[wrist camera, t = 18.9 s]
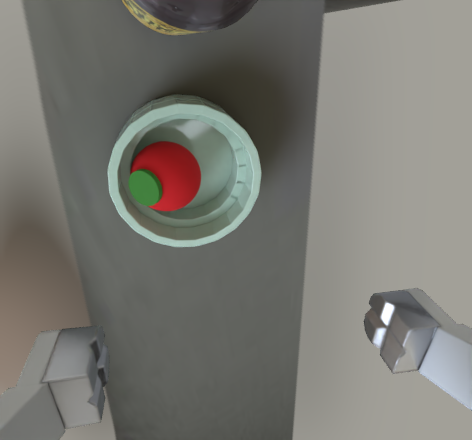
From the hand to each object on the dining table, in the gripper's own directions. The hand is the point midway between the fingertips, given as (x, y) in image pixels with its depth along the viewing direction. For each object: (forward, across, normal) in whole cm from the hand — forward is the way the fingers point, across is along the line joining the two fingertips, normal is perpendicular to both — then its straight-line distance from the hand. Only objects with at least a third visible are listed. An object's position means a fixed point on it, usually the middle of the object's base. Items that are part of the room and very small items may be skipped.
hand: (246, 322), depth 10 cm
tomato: (+17, +1, +1) cm, 17 cm away
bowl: (+18, +1, +1) cm, 18 cm away
